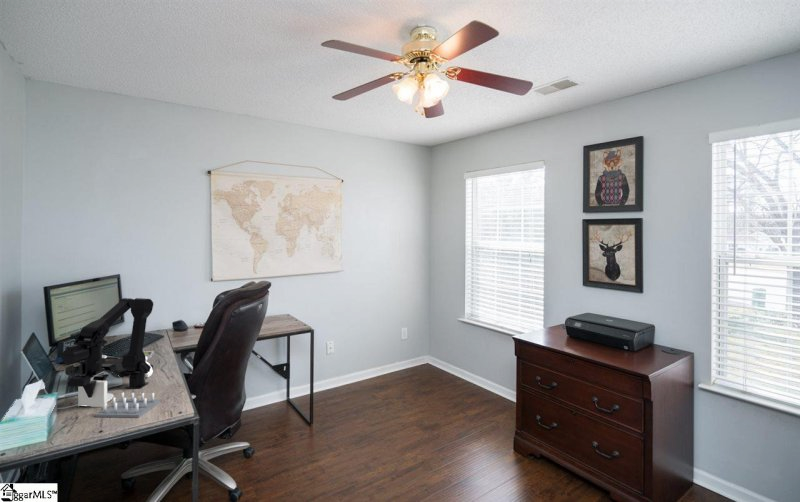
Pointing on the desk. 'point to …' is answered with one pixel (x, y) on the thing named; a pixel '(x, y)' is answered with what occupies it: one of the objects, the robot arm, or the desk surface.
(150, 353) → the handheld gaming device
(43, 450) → the desk surface
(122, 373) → the external hard drive
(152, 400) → the dish rack
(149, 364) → the bust
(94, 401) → the white rectangular slab
